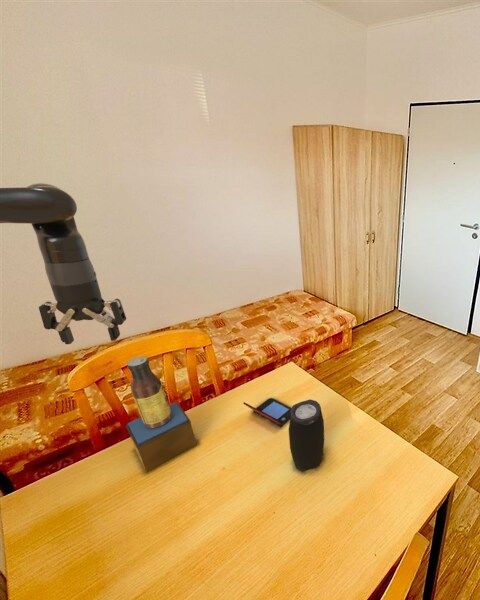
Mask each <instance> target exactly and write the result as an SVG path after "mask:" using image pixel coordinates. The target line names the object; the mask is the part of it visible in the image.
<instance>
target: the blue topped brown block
mask: <svg viewBox="0 0 480 600" xmlns="http://www.w3.org/2000/svg"><path fill="white" fill-rule="evenodd" d="M176 404H177V405H178V407H179V408H180V409H181V411H182V412H183V414H184V415H185V416H186V418H187V419H188V421H186V422H184V423H182V424H180V425H178V426H176V427H174V428H172V429H170V430H168V431H166V432H164V433H162V434H160V435H158V436H155V437H153V438H151V439H149V440H147V441H145V442H143V443H141V444H139V445H138V443H137V441H136V439H135V437H134V435H133V433H132V431H131V429H130V427H129V425H128V423H127V424H125V428H126V429H127V431H128V435H129V437H130V440H131V442H132V445H133V447H134V449H135V452H136V454H137V456H138V458H139V460H140V462H141V464H142V466H143V468H144V471H145V472H146V473H149V472H151V471H153V470H155V469H157V468H158V467H160V466H162V465H164V464H166V463H167V462H169V461H171V460H174V459H175V458H176V457H179V456H181V455H182V454H184V453H186V452H188V451H189V450H191V449H193V448H195V447H197V442H196V439H195V435H194V434H195V433H194V430H193V426H192V420H191V419H190V418H189V417H188V415H187V414H186V412H185V411H184V409H183V408H182V407H181V406H180V404H179V403H178V402H176Z"/></svg>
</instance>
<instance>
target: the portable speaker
mask: <svg viewBox="0 0 480 600" xmlns="http://www.w3.org/2000/svg"><path fill="white" fill-rule="evenodd" d="M290 408H291V411H290V413H291V416H290V420H289V425H288V441H289V450H290V454H291V457H292V460H293V461H292V462H293V463H294V466H295V469H296V470H298V471H300V472H302V473H303V472H305V471H310V470H313V469H317V468H319V467H320V465H321V464H322V462H323V456H324V449H325V421H324V415H323V411H322V406H321V404H320V403H319V402H318V401H317V400H314V399H311V398H310V399H306V400H303V401H300V402H298V403H297V402H296V403H295V404H293V405H292V406H291V407H290Z"/></svg>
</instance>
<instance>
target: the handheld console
mask: <svg viewBox="0 0 480 600" xmlns="http://www.w3.org/2000/svg"><path fill="white" fill-rule="evenodd" d="M242 404H243V405H244V406H246V407H247V408H249V409H251V410H252V411H253V414H256V415H257V416H259V417H261V418H263V419H267V420H268V421H269V422H270V423H272V424H274V425H276V426H277V427H278V428H282V427H283V426H284V425H285V424H287V423H288V421H289V422H290V416H291V413H290V411H291V408H292V407H291V406H289V405H286V404H284V403H282V402H281V401H279V400H276V399H275V398H273V397H269V398H268V399H266V400H265V401H264V402H262V403H261V404H260V405H258V406H257V407H254V406H252V405H250V404H249V403H246V402H245V401H243V402H242Z"/></svg>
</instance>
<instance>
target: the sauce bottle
mask: <svg viewBox="0 0 480 600" xmlns="http://www.w3.org/2000/svg"><path fill="white" fill-rule="evenodd" d="M126 364H127V369H128V370H129V371H130V373H131V377H132V381H131V383H130V391H131V393H132V398H133V400H134V403H135V405H136V408H137V410H138V413H139V415H140V418H142V420H143V423H144V424H145V425H146V427H148V428H157V427H160V426H162V425H164V424H166V423H167V422H168V421H169V420H170V419H171V410H170V407H169V405H170V403H169V401H168V397H167V395H166V392H165V388H164V386H163V383H162V380H161V379H160V378H159V377H158V376H157V375H156V374H155V373H154V372H153V371H152V369H151V367H150V361H149V359H148V357H146V356H136V357H134V358H131V359H130V360H128V362H127V363H126Z"/></svg>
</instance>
